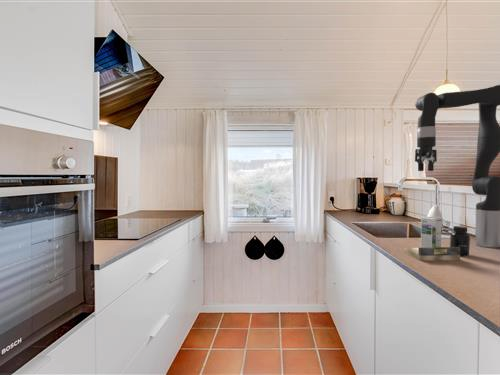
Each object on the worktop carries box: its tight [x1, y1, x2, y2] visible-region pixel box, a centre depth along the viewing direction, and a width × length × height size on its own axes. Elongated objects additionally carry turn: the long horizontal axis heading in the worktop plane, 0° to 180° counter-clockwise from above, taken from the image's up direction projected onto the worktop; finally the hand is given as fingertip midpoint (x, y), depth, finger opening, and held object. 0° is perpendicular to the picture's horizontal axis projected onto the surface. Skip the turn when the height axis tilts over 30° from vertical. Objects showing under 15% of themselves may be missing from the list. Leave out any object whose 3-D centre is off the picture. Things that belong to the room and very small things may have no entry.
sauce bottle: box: [426, 203, 444, 229], centre depth 167 cm, size 8×8×18 cm
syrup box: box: [420, 215, 443, 248], centre depth 120 cm, size 6×6×14 cm
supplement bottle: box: [449, 225, 471, 257], centre depth 122 cm, size 7×7×12 cm
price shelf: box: [403, 246, 461, 262], centre depth 120 cm, size 16×12×5 cm
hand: (425, 171), depth 136 cm, fingers open, 8 cm apart
